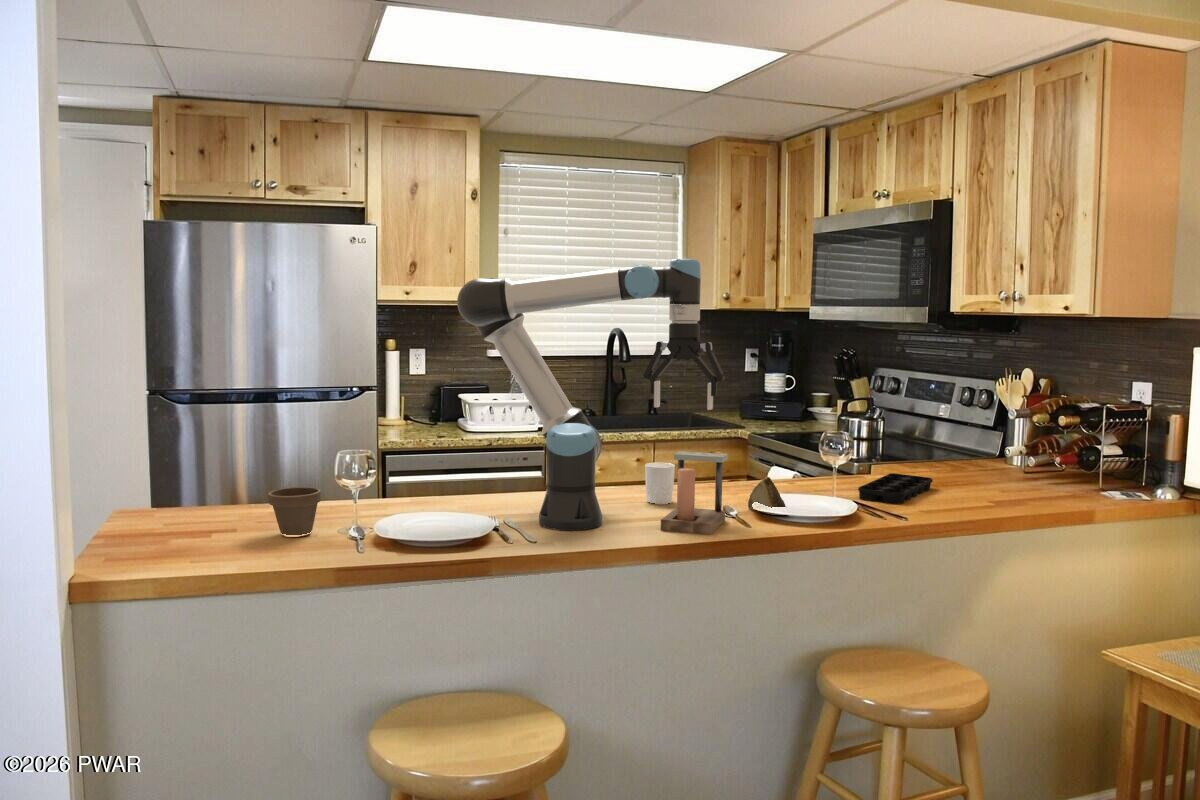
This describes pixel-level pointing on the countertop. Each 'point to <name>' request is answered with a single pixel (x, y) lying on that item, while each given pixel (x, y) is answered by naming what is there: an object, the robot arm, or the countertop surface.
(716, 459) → the two-post gate frame
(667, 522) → the socket board
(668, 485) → the white cup
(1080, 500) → the countertop surface
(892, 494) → the egg carton
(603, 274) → the robot arm
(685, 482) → the peg
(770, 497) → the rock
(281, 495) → the flower pot
